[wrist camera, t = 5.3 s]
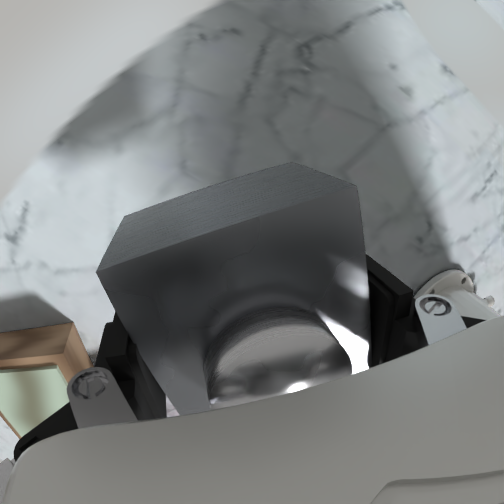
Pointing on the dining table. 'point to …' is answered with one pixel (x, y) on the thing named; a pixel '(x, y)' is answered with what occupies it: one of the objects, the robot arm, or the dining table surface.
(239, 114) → the dining table surface
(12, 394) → the stand
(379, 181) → the dining table surface
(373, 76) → the dining table surface
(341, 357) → the housing
